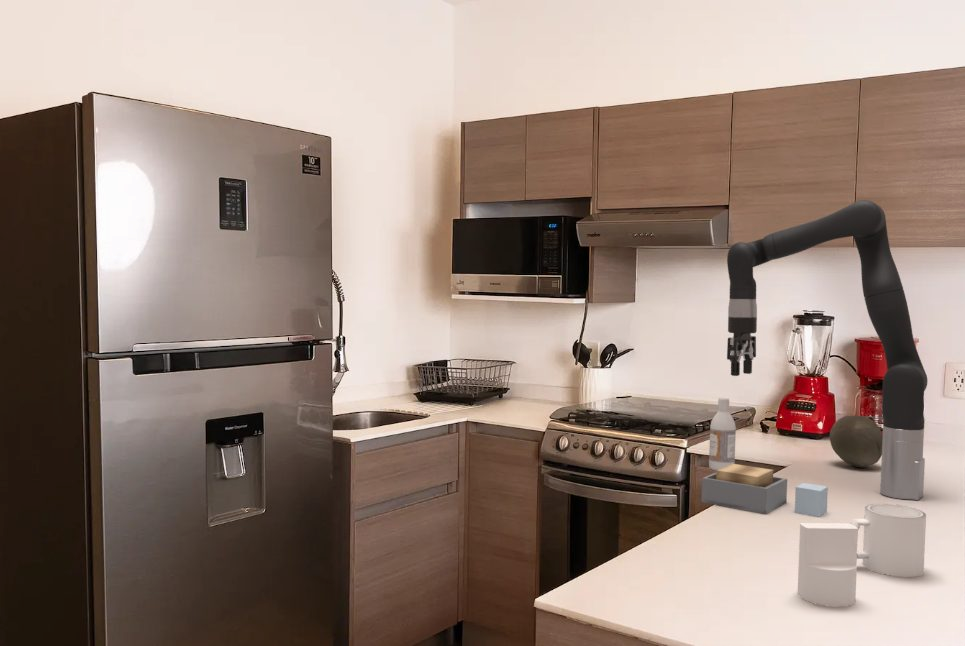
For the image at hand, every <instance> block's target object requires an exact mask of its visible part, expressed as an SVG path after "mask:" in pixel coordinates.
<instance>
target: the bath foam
mask: <svg viewBox="0 0 965 646" xmlns="http://www.w3.org/2000/svg"><path fill="white" fill-rule="evenodd" d="M717 401H718V402H717V404H718V405H717V408H718V409H717V412H716V413H715V414H714V416H713V417H712V420H711V422H710V425H709V426H710V428H709V452H708V468H709V469H711V470H713V471H717V470H719V469H721V468H724V467H726V466H729V465H731V464H736V463H735V461H736V459H735V458H736V437H737V436H736V433H737V430H736V427H737V426H736V422H735V420H734V418H733V416H732V414H731V413H730V398H726V397H720V398H718V400H717Z"/></svg>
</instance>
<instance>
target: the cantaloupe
mask: <svg viewBox="0 0 965 646" xmlns="http://www.w3.org/2000/svg"><path fill="white" fill-rule="evenodd" d="M881 430H882V429H881V428H880V427H879V425H878V424H877V423H876V422H875V420H873V419H871V418H870V417H867V416H864V415H845V416H843V417H841V418H839V419H838V420H837V421H835V422H834V423H833V425H832V427H831V429H830V431H829V442H830V446H831V449H832V450H833V451H834V453H835V454H836V455H837V457H838V458H840V459H841V460H842V461H843V462H845V463H846V464H848V465H850V466H852V467H856V468H861V469H862V468H863V469H865V468H867V467H870V466H872V465H875V464H877V463H878V462H879V461H880V459H882V439H883V431H881Z"/></svg>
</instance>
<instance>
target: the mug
mask: <svg viewBox="0 0 965 646" xmlns="http://www.w3.org/2000/svg"><path fill="white" fill-rule="evenodd" d="M850 524H852V525H854V526H856V527H857V528H858V531H859V530H860V528H861V526H863V539H862V540H863V545H862V547H863V548H862V551H857V560H858V559H862V565H864V566H865V569H867V568H868V569H867V570H869V569H870V571H871V570H872V571H871V572H874V571H875V573H877V572H878V573H877V574H880V573H881V574H880V575H884V574H886V575H885V576H889V575H891V576H890V577H897V578H898V577H899V578H916V577H920V576H922V575H923V574H924V570H925V568H924V567H925V553H926V552H925V549H926V548H925V546H926V527H927V525H926V524H927V514H926V513H925V512H924V511H922V510H920V509H917V508H914V507H909V506H907V505H906V506H905V505H899V504H891V503H873V504H867V505H865V507H864V518H852V520H851V522H850ZM864 566H863V567H864Z"/></svg>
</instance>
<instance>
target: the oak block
mask: <svg viewBox="0 0 965 646" xmlns="http://www.w3.org/2000/svg"><path fill="white" fill-rule="evenodd" d="M716 472H717V473H716ZM716 472H715V473H716V480H722V481H728V482H734V483H740V484H746V485H752V486H758V487H764V488H765V487H767V486H769V485H771V484H773V477H774V469H771V468H770V469H769V468H762V467H756V466H751V465H750V466H749V465H744V464H736V463H735V464H731V465H729V466H726V467H724V468H721V469H719V470H716Z"/></svg>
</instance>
